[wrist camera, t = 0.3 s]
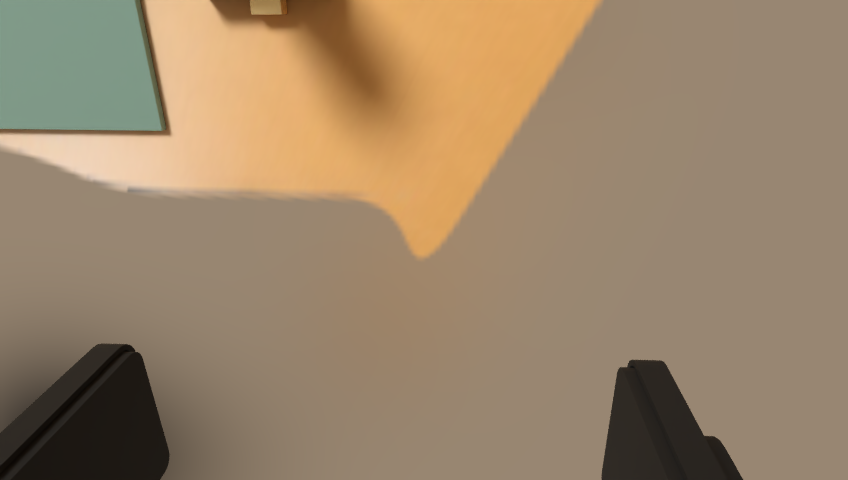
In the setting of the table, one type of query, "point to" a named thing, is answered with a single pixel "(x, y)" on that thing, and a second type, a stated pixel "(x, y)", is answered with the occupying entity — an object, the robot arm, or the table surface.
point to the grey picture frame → (268, 7)
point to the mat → (76, 66)
